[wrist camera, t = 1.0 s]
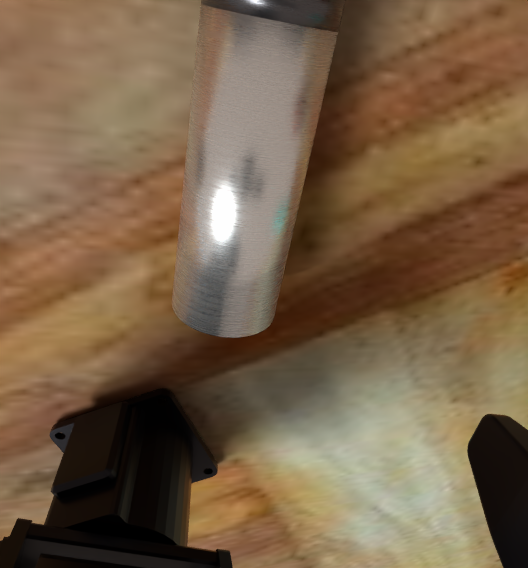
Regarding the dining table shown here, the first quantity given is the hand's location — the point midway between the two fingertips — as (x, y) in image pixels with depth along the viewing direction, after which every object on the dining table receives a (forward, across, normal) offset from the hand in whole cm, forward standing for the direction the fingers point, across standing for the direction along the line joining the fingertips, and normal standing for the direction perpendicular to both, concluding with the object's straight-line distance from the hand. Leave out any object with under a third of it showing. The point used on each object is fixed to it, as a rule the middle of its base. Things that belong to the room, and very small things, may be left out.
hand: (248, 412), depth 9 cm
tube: (+12, 0, -4) cm, 12 cm away
